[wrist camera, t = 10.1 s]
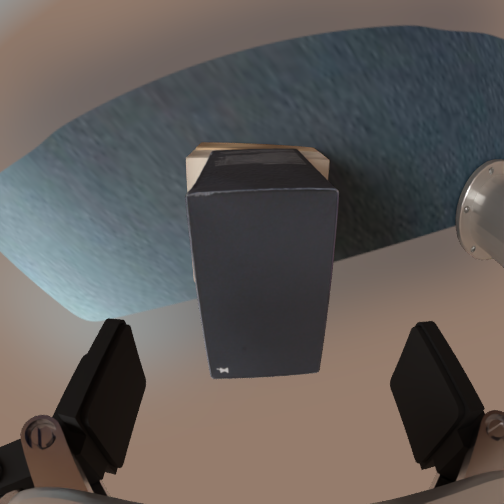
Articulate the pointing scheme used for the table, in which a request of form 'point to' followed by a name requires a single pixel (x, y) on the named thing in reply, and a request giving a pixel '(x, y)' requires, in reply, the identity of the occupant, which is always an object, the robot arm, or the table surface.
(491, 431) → the robot arm
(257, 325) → the small box
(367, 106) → the table surface
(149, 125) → the table surface
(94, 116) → the table surface
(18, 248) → the table surface
